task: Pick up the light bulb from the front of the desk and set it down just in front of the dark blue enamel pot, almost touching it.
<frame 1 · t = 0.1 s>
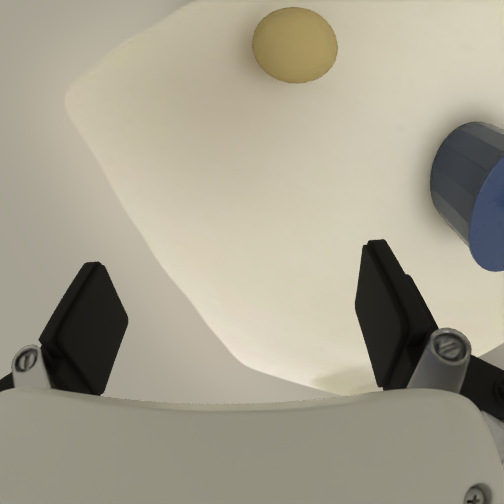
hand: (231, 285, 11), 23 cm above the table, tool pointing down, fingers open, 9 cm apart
light bulb: (286, 49, 25), on the table
pot: (474, 175, 31), on the table
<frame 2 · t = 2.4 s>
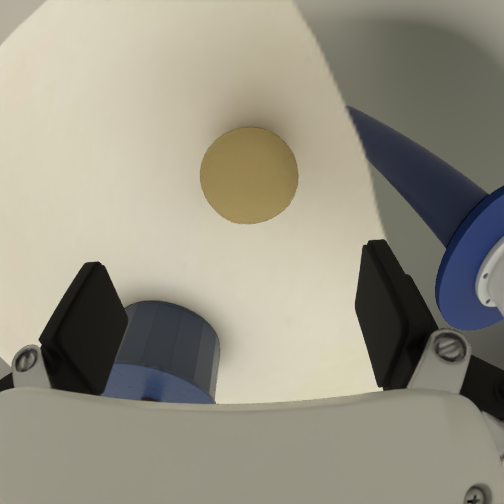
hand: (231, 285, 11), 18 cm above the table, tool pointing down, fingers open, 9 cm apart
light bulb: (251, 147, 26), on the table
pot: (166, 339, 40), on the table
pot lid: (151, 398, 32), point 9 cm above the table, touching pot
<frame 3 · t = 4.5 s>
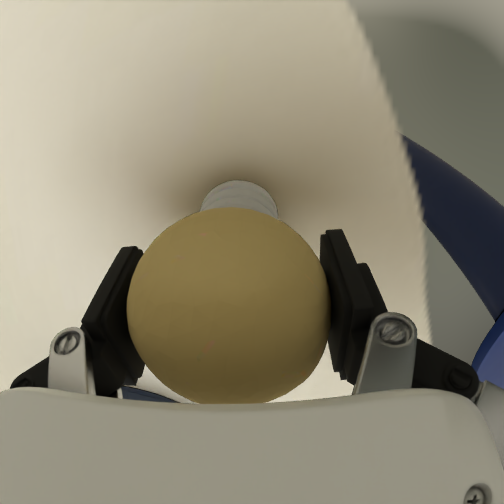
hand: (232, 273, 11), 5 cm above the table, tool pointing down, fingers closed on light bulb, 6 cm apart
light bulb: (239, 208, 16), on the table, touching gripper
pot: (143, 418, 30), on the table
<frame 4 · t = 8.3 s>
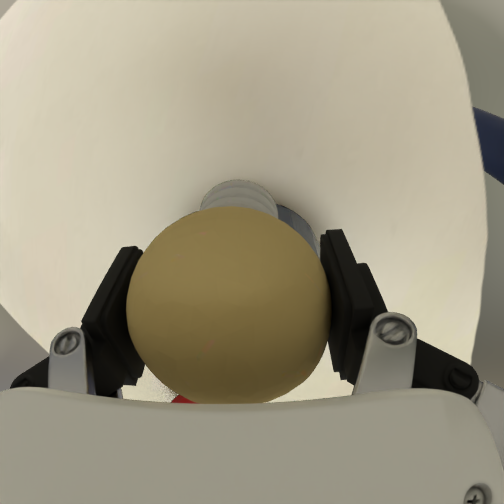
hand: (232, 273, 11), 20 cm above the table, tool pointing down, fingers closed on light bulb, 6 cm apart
light bulb: (239, 208, 16), point 15 cm above the table, touching gripper
pot: (255, 258, 36), on the table
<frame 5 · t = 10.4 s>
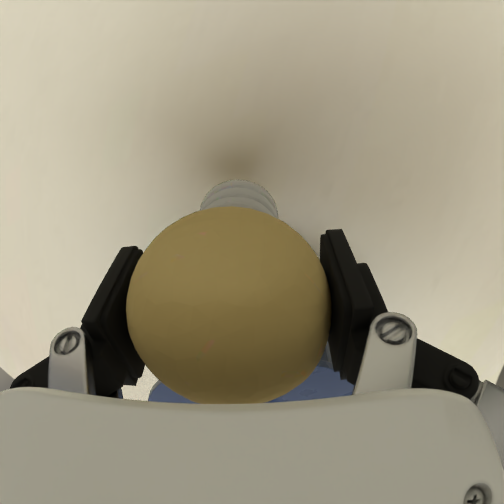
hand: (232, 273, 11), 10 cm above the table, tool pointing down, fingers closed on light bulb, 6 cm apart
light bulb: (239, 208, 16), point 5 cm above the table, touching gripper
pot lid: (261, 418, 19), point 9 cm above the table, touching pot
when the fingers open (5 cm above the table, at t = 12.0 s): light bulb stays where it is, on the table.
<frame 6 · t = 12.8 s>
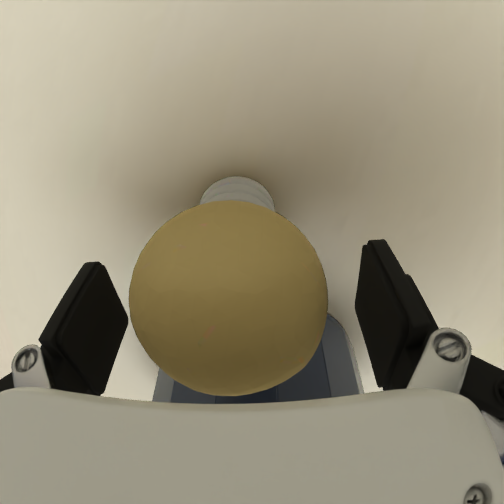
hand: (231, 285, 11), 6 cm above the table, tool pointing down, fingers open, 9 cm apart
light bulb: (237, 204, 16), on the table
pot: (258, 364, 23), on the table
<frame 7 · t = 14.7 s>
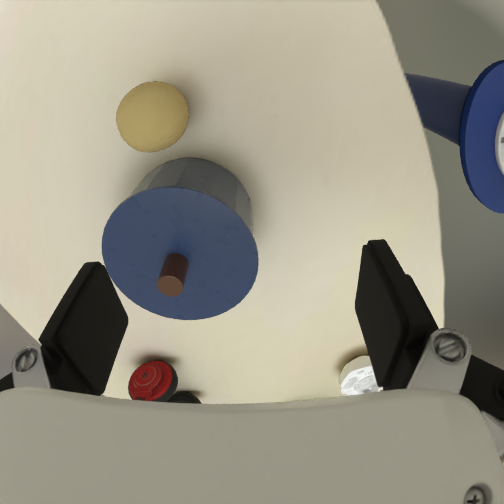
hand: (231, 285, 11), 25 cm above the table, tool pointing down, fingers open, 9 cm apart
light bulb: (170, 105, 30), on the table
pot: (191, 214, 38), on the table
cell model: (360, 362, 56), on the table
headphones: (170, 378, 58), on the table
pot lid: (177, 260, 30), point 9 cm above the table, touching pot
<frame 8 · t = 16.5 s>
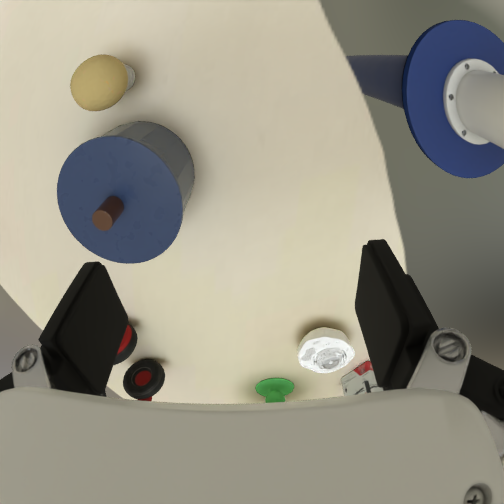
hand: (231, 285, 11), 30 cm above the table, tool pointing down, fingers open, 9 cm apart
light bulb: (124, 77, 32), on the table
ink box: (359, 371, 66), on the table
pot: (142, 173, 40), on the table
cell model: (322, 335, 58), on the table
headphones: (135, 343, 60), on the table
cup: (274, 387, 68), on the table
pot lid: (115, 203, 32), point 9 cm above the table, touching pot
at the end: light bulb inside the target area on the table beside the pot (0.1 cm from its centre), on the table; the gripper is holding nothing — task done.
